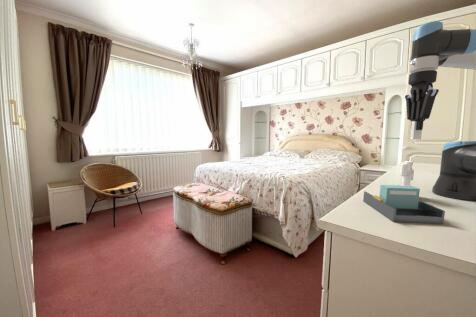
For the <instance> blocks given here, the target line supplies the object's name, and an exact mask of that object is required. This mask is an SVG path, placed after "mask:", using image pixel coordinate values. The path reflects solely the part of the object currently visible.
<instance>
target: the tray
mask: <svg viewBox="0 0 476 317" xmlns="http://www.w3.org/2000/svg"><path fill="white" fill-rule="evenodd" d="M362 202H363V203H365V204H366V205H367V206H369V207H371V208H372V209H374V210H375V211H377V212H378V213H379V214H381V215H382V216H384V217H385V218H387V219H388V220H389V221H391V222H393V223H394V222H395V223H413V224H414V223H415V224H432V225H433V224H435V225H444V221H445V216H446V215H445V214H446V211H445V210H444V209H441V208H439V207H436V206H435V205H432V204H430V203H427V202H425V201H423V200H420V199H419V201H418V209H406V208H394V207H392V206H390V205H388V204H387V203H385V202H383V199H382V198H380V196H378V195H374V194H371V193H369V192H367V191H365V190H364V191H363V200H362Z"/></svg>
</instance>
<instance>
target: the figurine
mask: <svg viewBox="0 0 476 317" xmlns="http://www.w3.org/2000/svg"><path fill="white" fill-rule="evenodd" d="M413 164H414V162H413V161H411V160H404V161H403V163H401V165H400V176H402V179H401V185H402V186H411V182H412V181H413V180H414V175H415V174H414V173H415V170H414V169H413Z"/></svg>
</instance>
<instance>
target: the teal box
mask: <svg viewBox="0 0 476 317" xmlns="http://www.w3.org/2000/svg"><path fill="white" fill-rule="evenodd" d="M420 192H421V188H419V187H416V186H413V185H410V186H402V184H396V185H395V184H380V188H379V197H380V198H382V199H383V202H385V203H387V204H388V205H390V206H392V207H394V208H406V209H418V201H419V200H420V199H419V198H420Z"/></svg>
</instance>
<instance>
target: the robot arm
mask: <svg viewBox="0 0 476 317" xmlns="http://www.w3.org/2000/svg"><path fill="white" fill-rule="evenodd" d="M411 42H412V43H411V44H412V45H411V55H410V58H409V65H410V66H409V73H410V74H409V75H408V83H407V84H408V85H409V86H411V88H410V92H409V94H406V95H404V98H405V102H406V118H407V120H408V121H410V122H411V124H410V135H409V137H410V138H409V139H410V140H421V139H422V132H423V128H424V122H425V121H426V120H429V119H430V116H431V113H432V110H433V107H434V104H435V100H436V97H437V95H438V94H439V91H440V90H439V89H438V88H434V85H433V83H435V82H437V77H438V71H437V70H438V68H439V67H440V68H453V69H463V70H464V69H466V70H473V71H475V70H476V28H475V29H473V28H464V29H463V28H462V29H461V28H460V29H444V23H443V22H442V21H440V20H434V21H429V22H425V23H423V24H420V25H419V26H417V27H416V28H415V29H414V32H413V35H412V41H411ZM440 160H441V162H440V170H439V175H438V177H437V179H436V181H435V183H434V184H433V186H432V191H431V192H432V193H433V194H435V195H439V196H442V197H444V198H445V197H446V198H450V199H457V200H466V201H476V140H469V141H466V140H465V141H464V140H463V141H449V142H445V144H444V145H443V148H442V150H441V159H440Z"/></svg>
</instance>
